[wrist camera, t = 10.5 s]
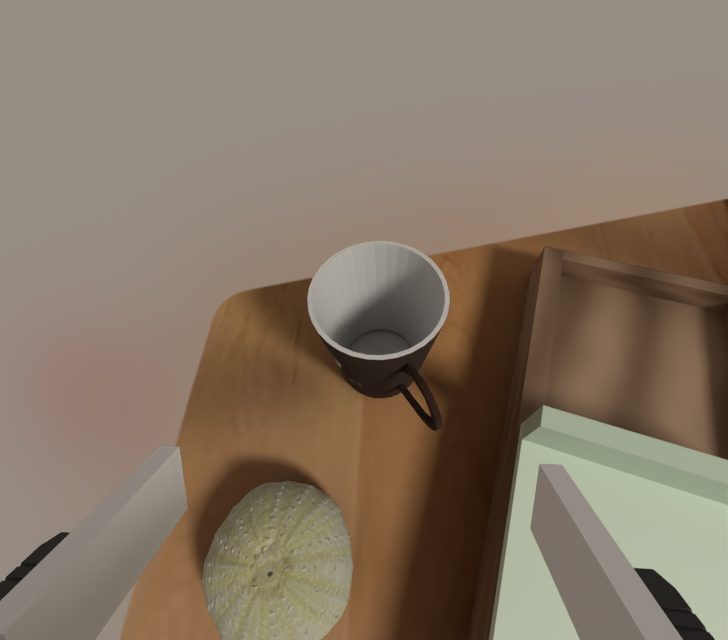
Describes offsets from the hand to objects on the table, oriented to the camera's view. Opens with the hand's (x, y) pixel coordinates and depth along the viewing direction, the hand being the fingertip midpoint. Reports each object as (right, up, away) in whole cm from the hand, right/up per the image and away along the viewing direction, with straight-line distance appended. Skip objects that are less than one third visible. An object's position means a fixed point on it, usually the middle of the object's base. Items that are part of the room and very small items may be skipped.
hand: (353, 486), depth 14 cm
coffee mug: (+2, +1, +17) cm, 17 cm away
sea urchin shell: (-5, -10, +11) cm, 16 cm away
